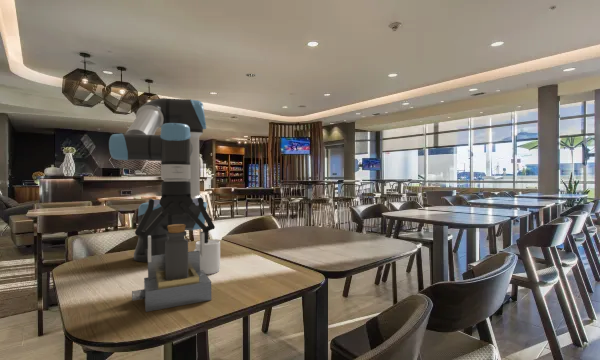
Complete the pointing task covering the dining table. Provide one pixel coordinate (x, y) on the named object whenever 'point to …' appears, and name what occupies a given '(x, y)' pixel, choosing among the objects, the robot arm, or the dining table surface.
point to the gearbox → (173, 285)
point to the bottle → (176, 252)
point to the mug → (210, 257)
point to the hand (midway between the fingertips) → (176, 258)
